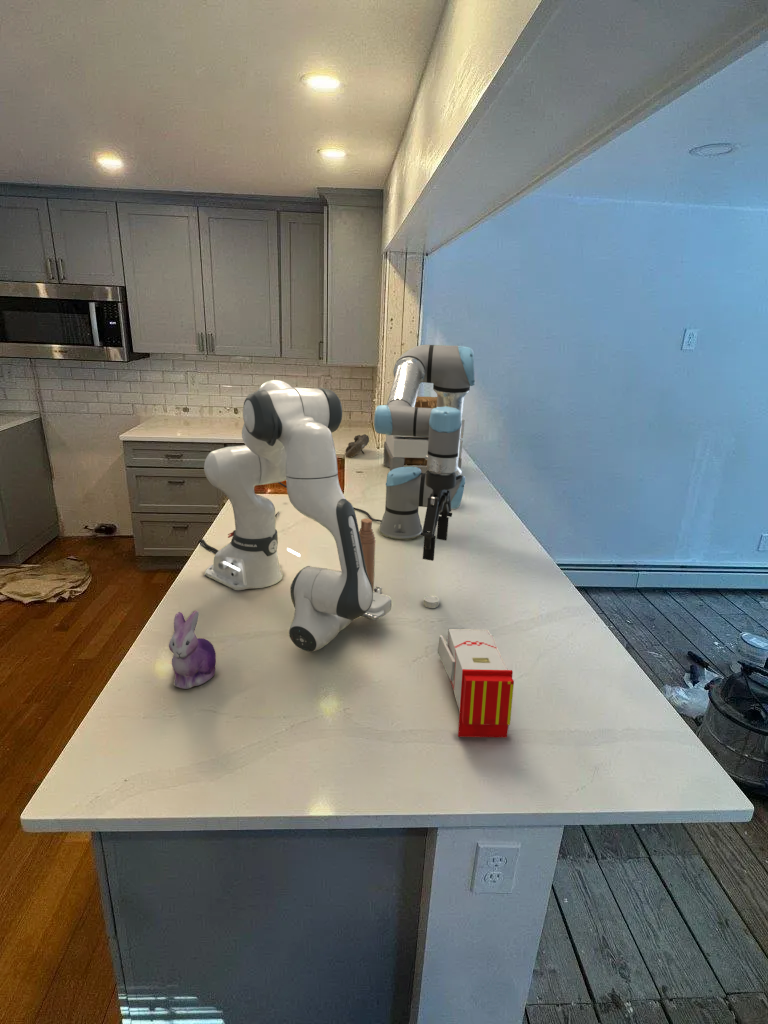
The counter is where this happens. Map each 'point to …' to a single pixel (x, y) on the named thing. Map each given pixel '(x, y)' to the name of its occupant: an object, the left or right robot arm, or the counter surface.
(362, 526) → the bottle
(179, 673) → the figurine
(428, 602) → the cap
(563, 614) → the counter surface
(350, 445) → the fossil
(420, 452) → the grey slatted box
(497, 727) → the toy
